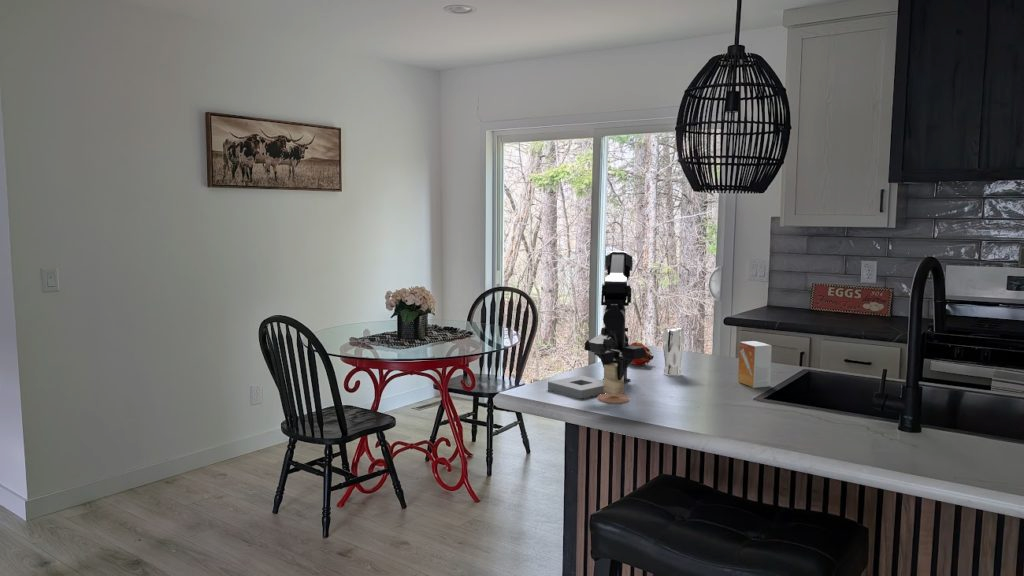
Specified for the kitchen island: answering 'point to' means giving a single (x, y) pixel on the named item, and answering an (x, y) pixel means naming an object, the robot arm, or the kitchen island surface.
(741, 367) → the small box
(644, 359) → the dragon fruit
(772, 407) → the kitchen island surface
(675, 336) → the beer glass
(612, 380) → the beech block
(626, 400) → the coaster
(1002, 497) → the kitchen island surface
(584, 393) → the pocket board
